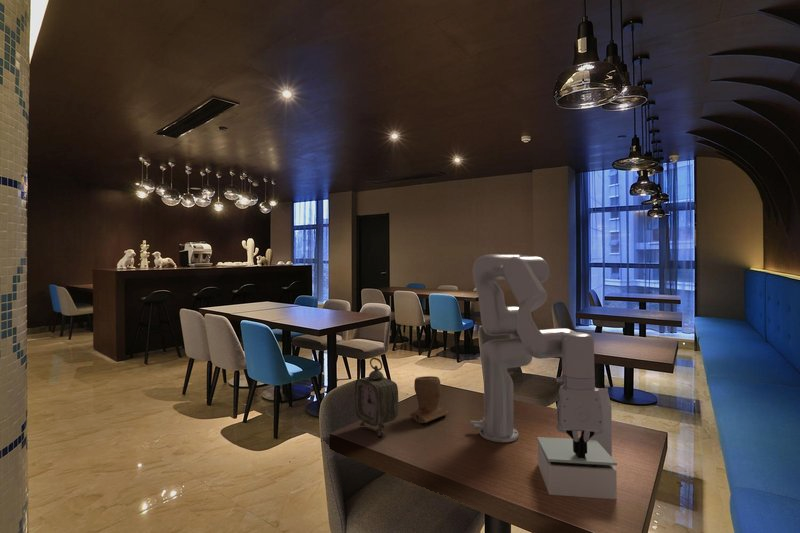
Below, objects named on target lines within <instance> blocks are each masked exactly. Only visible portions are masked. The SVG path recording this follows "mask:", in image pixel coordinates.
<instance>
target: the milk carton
mask: <svg viewBox="0 0 800 533" xmlns="http://www.w3.org/2000/svg"><path fill="white" fill-rule="evenodd" d="M596 388H597V389H598V390H599V393H600V398H601V404H602V412H603V423H604V425H603V433H601V434H596V435H593V436H592V437H591V438H590V439H589V440H597V442H598V443H599V444H600V445H601V446H602V447H603V448H604V449H605V450H606V452H607V453H608V454H609V455H610V456H611V457H612V456H613V446H612V445H613V442H612V441H613V440H612V439H613V437H612V436H613V435H612V432H613V431H612V422H613V421H612V416H613V415H612V414H613V413H612V402H611V399H610V395H609V389H608V388H603V387H601V388H600V387H599V388H598V387H596Z"/></svg>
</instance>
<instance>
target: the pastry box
mask: <svg viewBox="0 0 800 533" xmlns="http://www.w3.org/2000/svg"><path fill="white" fill-rule="evenodd" d="M562 465H570V466H562ZM537 467H538V468H539V471H540V474H541V477H542V479H543V482H544V484H545V487H546V491H547V493H548V495H551V496H552V495H553V496H565V497H577V498H578V497H579V498H590V499H591V498H593V499H604V500H605V499H606V500H607V499H608V500H617V499H618V497H617V493H618V492H617V491H618V490H617V478H618V477H617V469H616V468H615V465H599V464H582V463H566V462H549V461H548V460H547V458H546V456H545V454H544V452H543V450H542V448H541V446H540V444H539V442H538V441H537Z"/></svg>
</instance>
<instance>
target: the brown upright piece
mask: <svg viewBox="0 0 800 533" xmlns="http://www.w3.org/2000/svg"><path fill="white" fill-rule="evenodd" d="M413 387H414V392H415V396H416V399H417V403H418V404H417V405H418V408H417V410H415V411H414V412H412V413H410V414H409V416H410V417H411V418H412V419H413V420H414V421H415V422H417V423H419V424H425V423H426V424H427V423H429V422H431V421H433V420H436V419H439V418H442V417H443V416H446V415H447V414H448V413H449V410H447V409H445V408H443V407H441V406H440V397H441V394H442V386H441V380H440V378H439V377H438V376H433V375H432V376H431V375H429V376H428V375H426V376H418V377H416V378H414V386H413Z"/></svg>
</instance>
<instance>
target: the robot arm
mask: <svg viewBox="0 0 800 533" xmlns="http://www.w3.org/2000/svg"><path fill="white" fill-rule="evenodd" d="M550 272H551V271H550V267H549V264H548V262H547V261H546V260H545V259H544V258H543V257H540V256H534V255H525V254H503V253H501V254H499V253H498V254H497V253H494V254H485V255H481V256H479V257H478V258H476V260H475V261H474V262H473V266H472V280H473V284H474V286H475V289H476V292H477V296H478V304H479V312H480V320H481V327H482V331H483V332H484V333H485V334H486V335H488V336H506V335H507V336H508V335H510V338H502V339H501V338H499V339H491V340H488V341H486V342H484V343H483V345H481V347H480V359H481V365H482V370H483V371H482V372H483V412H484V413H483V417H482V419H480V420H470V427H473V428H474V430H478V429H479V435H480V436H481V437H482V438H483V439H484V440H488V441H490V442H494V443H510V442H511V443H512V442H514V441H517V440H518V439H519V436H520V435H519V434H520V433H519V431H518V430H517V429H516V428H514V424H515V423H514V418H515V417H514V382H513V379H512V377H511V375H510V373H509V372H508V369H514V368H520V367H521V368H522V367H526V366H528V365H529V364H531V363H532V360H533V358H535V359H549V358H550V359H551V358H561V370H562V371H561V375H560V376H559V377H557V376H556V383H557V384H559V383H560V384H561V385H560V387H559V390H558V396H557V404H556V405H557V406H556V407H557V409H556V410H557V411H556V416H557V417H556V418H557V420H556V421H557V425H556V429H557V432H559V433H563V434H567V435H568V436H569V438H570V439H573V451H574V453H576V455H577V457H578V458H581V457H582V458H585V454H587V442H588V441H589V439H590V438H591V437H592V436H593V435H596V434H601V433H603V425H604V423H603V412H602V404H601V398H600V393H599V390H598V389H597V388H598V387H596V379H595V378H596V377H595V374H596V372H595V370H596V369H595V341H594V337H593V335H591V334H589V333H586V332H580V331H579V332H578V331H575V330H572V329H570V328H564V327H563V328H562V327H560V328H544V329H543V328H542V329H539V328H538V327H537V325H536V323H535V321H534V318H533V316H532V315H533V314H532V312H534V311H536V310H538V309H539V308H541V307H542V306H543V305H544V304H545V302H546V301H547V299H548V293H547V291H546V290H545V288H544V286H543V283H545V282H547V280H548V279H549V277H550ZM495 280H496V281H497V280H499V281H500V280H505V281H506V283H507V284H508V286H509V288H510V290H511V292H512V294H513V296H514V298H515V300H516V302H517V304H518V305H519V306H514V305H512V306H510V305H509V306H506V302H505V294H504V292H503V290H502V288H501V287H500V285H499V284H498V283H497V282H496V281H495ZM579 432H580V437H579V434H578V433H579Z"/></svg>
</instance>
